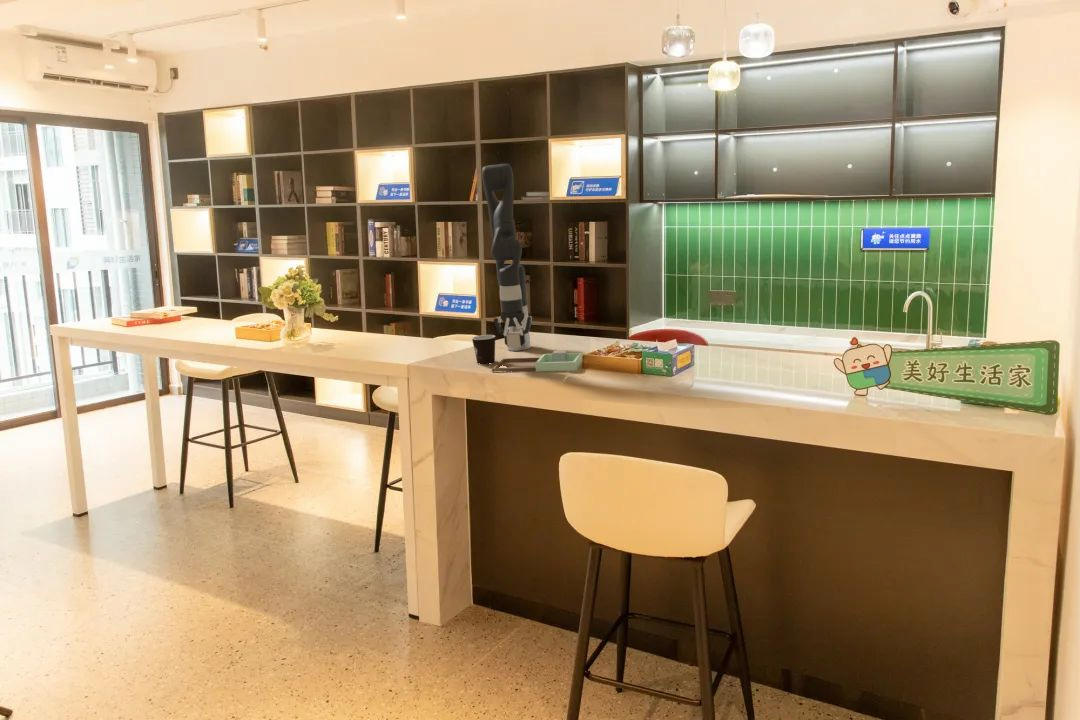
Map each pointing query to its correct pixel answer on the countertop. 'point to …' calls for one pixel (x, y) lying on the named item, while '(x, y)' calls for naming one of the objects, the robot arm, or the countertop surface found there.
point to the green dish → (558, 363)
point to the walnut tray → (517, 364)
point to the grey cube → (560, 356)
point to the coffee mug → (484, 348)
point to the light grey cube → (513, 339)
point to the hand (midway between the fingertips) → (515, 345)
